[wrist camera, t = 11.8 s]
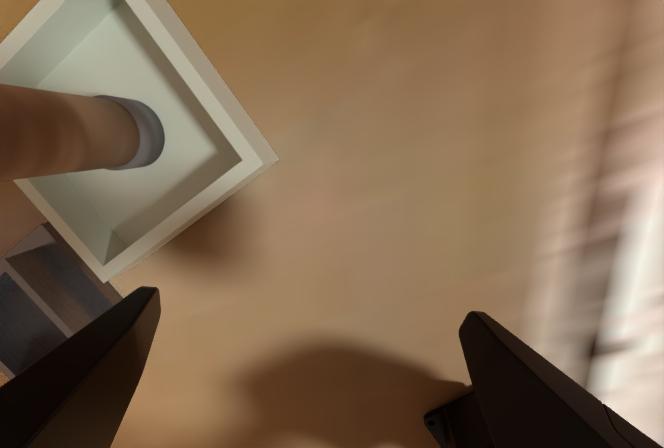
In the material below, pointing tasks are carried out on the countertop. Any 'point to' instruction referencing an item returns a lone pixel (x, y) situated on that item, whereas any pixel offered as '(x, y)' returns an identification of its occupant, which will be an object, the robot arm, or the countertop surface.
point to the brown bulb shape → (73, 133)
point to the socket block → (45, 298)
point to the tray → (156, 92)
